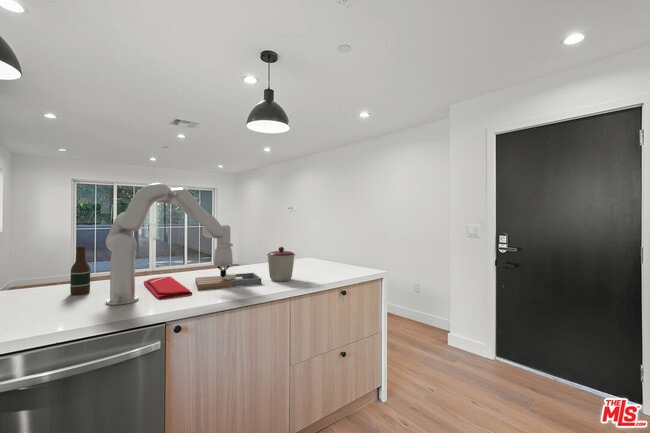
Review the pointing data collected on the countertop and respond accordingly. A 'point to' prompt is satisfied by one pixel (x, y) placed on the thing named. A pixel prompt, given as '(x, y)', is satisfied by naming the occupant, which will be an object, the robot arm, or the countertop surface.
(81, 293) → the beer bottle
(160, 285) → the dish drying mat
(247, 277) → the tray
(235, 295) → the countertop surface
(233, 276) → the tile
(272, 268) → the canister
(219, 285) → the walnut board
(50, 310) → the countertop surface
